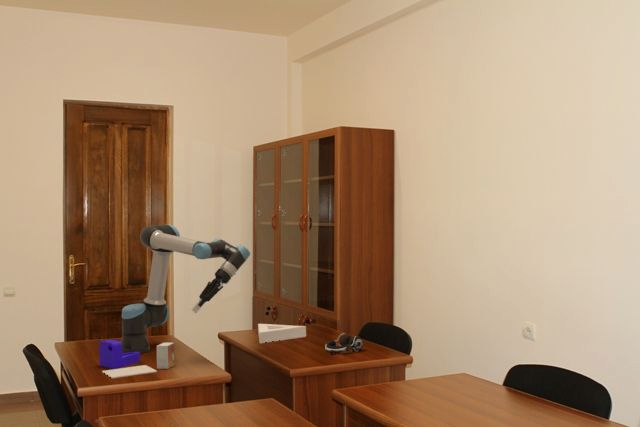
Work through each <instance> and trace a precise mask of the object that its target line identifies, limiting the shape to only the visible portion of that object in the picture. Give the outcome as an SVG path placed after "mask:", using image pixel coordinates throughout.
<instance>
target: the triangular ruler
mask: <svg viewBox="0 0 640 427" xmlns="http://www.w3.org/2000/svg"><path fill="white" fill-rule="evenodd" d="M257 332H258V333H257V334H258V341H259V344H265V342H267V343H273V342H272V341H274V342H279V340H280V341H285V340H287V341H288V340H292V339H293V340H294V339H300V338H306V337H307V326H306V325H288V324H269V323H257Z"/></svg>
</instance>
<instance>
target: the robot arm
mask: <svg viewBox="0 0 640 427" xmlns="http://www.w3.org/2000/svg"><path fill="white" fill-rule="evenodd" d="M139 240H140V243H141V244H142V245H143V246H144V247H146V248H147V249H150V250H151V251H152V258H151V267H150V275H149V283H148V287H147V288H148V289H147V296H146V297H145V298H144V299H143V303H132V304H128V305H126V306H124V307H122V309H121V330H122V332H121V336H122V337H121V339H120V340H121V341H120V342H121V344H122V353H130V352H140V354H144V353H147V352H150V349H151V348H150V347H151V346H150V343H149V340H148V337H147V329H149V328H153V327H159V326H162V325H164V324H165V323H166V322H167V321H168V320H169V318H170V309H169V306H168V305H167V301H166V300H165V293H166V287H167V286H166V285H167V278H168V272H169V264H170V258H171V257H170V256H171V254H173V253H174V252H175V253H179V254H184V255H187V256H188V255H189V256H193V257H195V258H196V259H197V260H207V259H216V258H223V259H224V260H225V261H223V263H222V264H221V265H220V266H219V268H218V269H217V270H216V272H215V273H214V277H215V278H213V279H212V280H211V281H210V280H209V281H207V283H206V286H205V287H204V289H203V290H202V291H201V293H200V295H199V299H198V300H197V302H195V304H193V306H192V307H191V309H190V310H191V311H192V312H193V313H195V314H197V313H198V312H199V311H200V310H201V308H202V307H203V306H204V305H205V303H207V302H210V301H211V300H212V299H213V298H214V297H215V296H216V295H217V294H218V293H219V292H220V291H221V290H222V289H223V288H224V285H223V284H228V283H229V282H230V280H232V278H233V277H234V276H235V275H236V273H237V271H238V270H239V269H240V268H241V267H242V266H243V265H244V264H245V263H246V261H247V260H248V258H250V255H251V252H250V250H249V249H248V248H247V247H246V246H245V245H242V244H238V245H237V246H235V245H232V244H231V243H228V241H226V240H223V239H221V238H215V239H213V240H212V241H211V242H205V241H200V240H197V239H191V238H187V237H182V236H181V235H180V232H179V230H178V228H177V227H176V226H175V225H172V224H167V223H164V224H150V225H147V226H145V227H144V228H143V229H142V230H141V231H140V234H139Z"/></svg>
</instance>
